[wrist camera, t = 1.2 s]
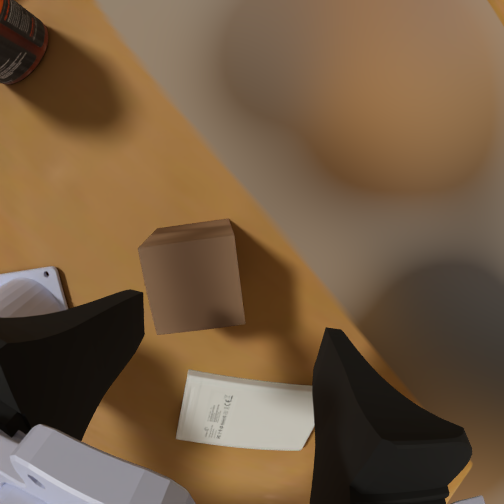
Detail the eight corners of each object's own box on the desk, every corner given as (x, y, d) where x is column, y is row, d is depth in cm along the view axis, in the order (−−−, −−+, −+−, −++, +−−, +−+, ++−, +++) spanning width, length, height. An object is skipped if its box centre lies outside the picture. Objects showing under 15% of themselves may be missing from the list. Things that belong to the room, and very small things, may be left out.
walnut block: (169, 295, 23) (156, 334, 17) (157, 228, 21) (137, 248, 16) (237, 286, 23) (245, 324, 17) (228, 218, 22) (234, 235, 16)
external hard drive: (296, 441, 29) (176, 429, 26) (325, 383, 27) (188, 365, 25) (300, 452, 27) (175, 441, 25) (331, 393, 25) (187, 376, 23)
